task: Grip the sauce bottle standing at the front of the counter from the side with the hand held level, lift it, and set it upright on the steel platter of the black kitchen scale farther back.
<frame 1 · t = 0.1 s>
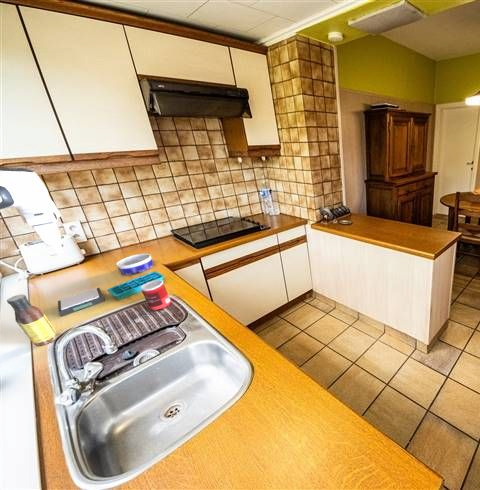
hand: (61, 250, 99), 31 cm above the worktop, tool pointing down, fingers open, 8 cm apart
ice cube tray: (139, 288, 132), on the worktop
canned food: (161, 306, 117), on the worktop
sauce bottle: (47, 341, 99), on the worktop
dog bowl: (138, 269, 151), on the worktop
scale: (82, 303, 121), on the worktop
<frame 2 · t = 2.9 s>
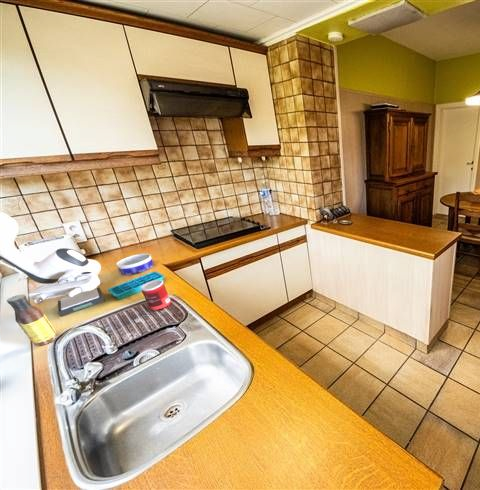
hand: (53, 298, 105), 11 cm above the worktop, tool horizontal, fingers open, 8 cm apart
nothing on the worktop moved.
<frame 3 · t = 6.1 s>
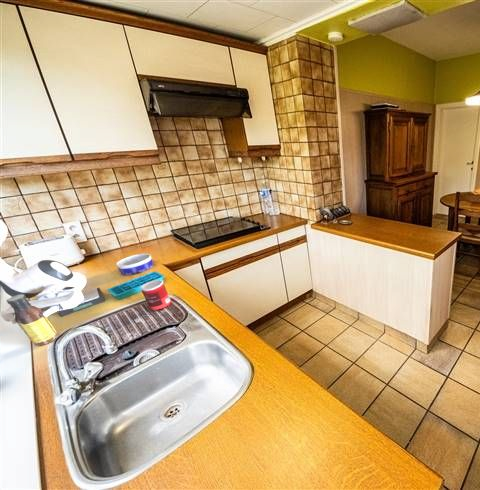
hand: (29, 318, 94), 11 cm above the worktop, tool horizontal, fingers closed on sauce bottle, 6 cm apart
sauce bottle: (47, 341, 99), on the worktop, touching gripper
everything else where it was.
when the fingers open (14 cm above the worktop, at t = 13.3 s): sauce bottle stays where it is, resting on scale.
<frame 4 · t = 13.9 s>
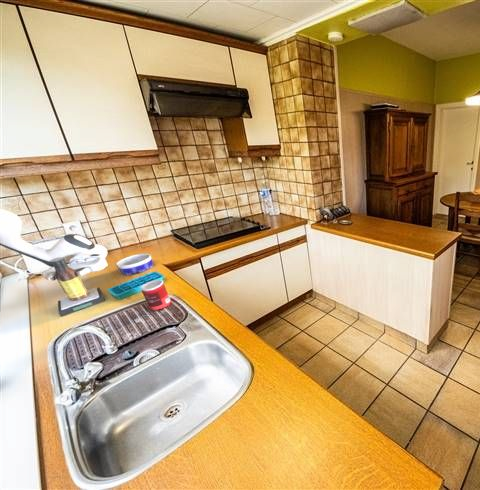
hand: (65, 276, 115), 15 cm above the worktop, tool horizontal, fingers open, 8 cm apart
sauce bottle: (79, 298, 120), point 3 cm above the worktop, touching scale
everything else where it was.
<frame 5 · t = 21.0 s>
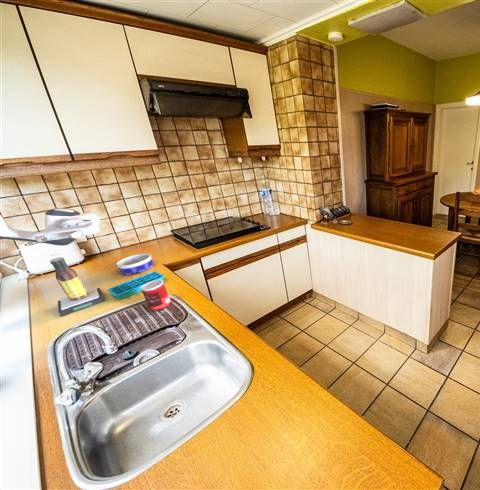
hand: (56, 238, 115), 30 cm above the worktop, tool horizontal, fingers open, 8 cm apart
nothing on the worktop moved.
at the end: sauce bottle inside the target area on the scale (0.1 cm from its centre), point 2.8 cm above the scale's base; sauce bottle tilted 0°; the gripper is holding nothing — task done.
